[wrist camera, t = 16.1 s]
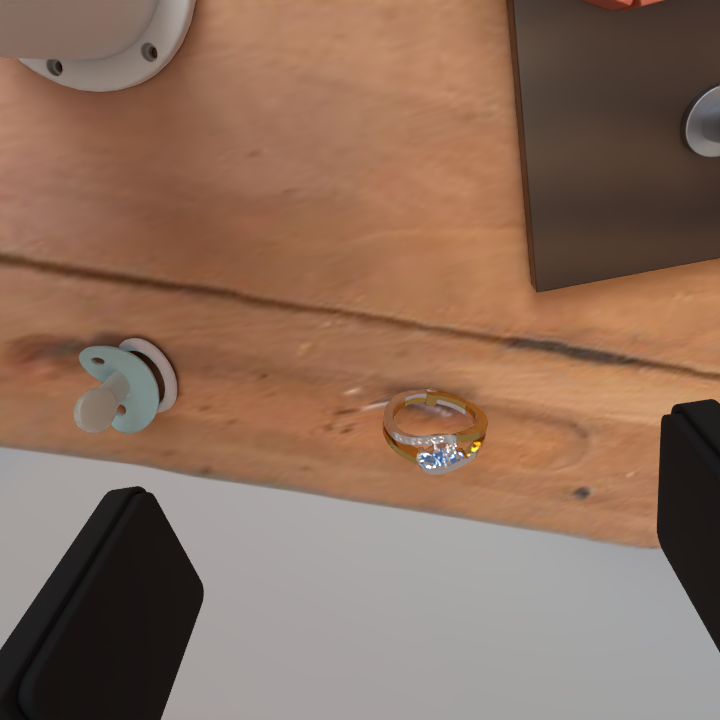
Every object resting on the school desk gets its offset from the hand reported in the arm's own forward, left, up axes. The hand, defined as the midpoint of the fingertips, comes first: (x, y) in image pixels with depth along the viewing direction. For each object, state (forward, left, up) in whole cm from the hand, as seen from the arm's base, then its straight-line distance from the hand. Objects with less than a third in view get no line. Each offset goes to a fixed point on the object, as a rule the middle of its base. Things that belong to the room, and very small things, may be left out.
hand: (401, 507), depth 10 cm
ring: (+13, -6, -26) cm, 30 cm away
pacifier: (-1, -23, -26) cm, 35 cm away
